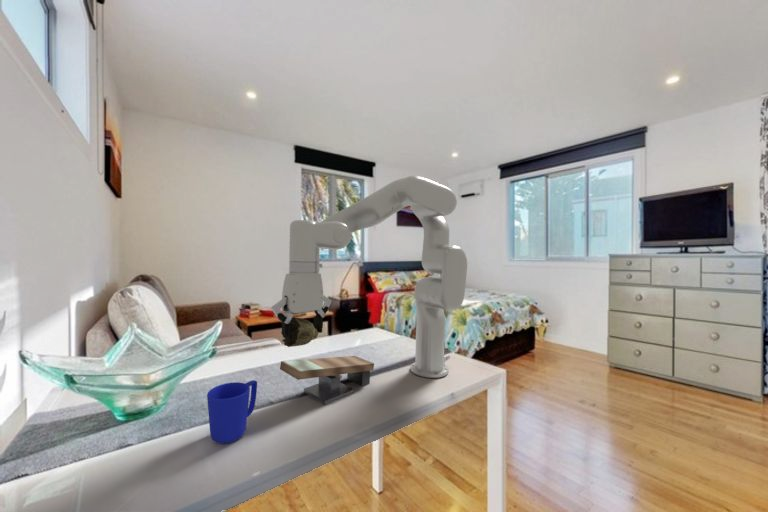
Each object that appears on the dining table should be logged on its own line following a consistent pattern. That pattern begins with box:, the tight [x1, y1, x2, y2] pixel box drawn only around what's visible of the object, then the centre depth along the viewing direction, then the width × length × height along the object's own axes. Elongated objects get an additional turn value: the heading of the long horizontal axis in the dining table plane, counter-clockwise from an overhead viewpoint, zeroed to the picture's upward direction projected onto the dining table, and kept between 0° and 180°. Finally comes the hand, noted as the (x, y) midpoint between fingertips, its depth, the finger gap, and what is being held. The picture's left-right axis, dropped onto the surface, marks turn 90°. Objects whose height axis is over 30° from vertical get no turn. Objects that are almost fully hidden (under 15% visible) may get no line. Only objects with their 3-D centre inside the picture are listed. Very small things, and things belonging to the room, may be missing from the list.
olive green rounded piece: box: [281, 316, 319, 348], centre depth 83 cm, size 8×7×8 cm
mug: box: [206, 379, 258, 444], centre depth 70 cm, size 8×12×10 cm
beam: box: [279, 355, 375, 380], centre depth 89 cm, size 26×10×3 cm, turn 136°
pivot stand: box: [303, 371, 371, 405], centre depth 92 cm, size 18×10×5 cm, turn 136°
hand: (303, 334), depth 83 cm, fingers closed on olive green rounded piece, 8 cm apart
